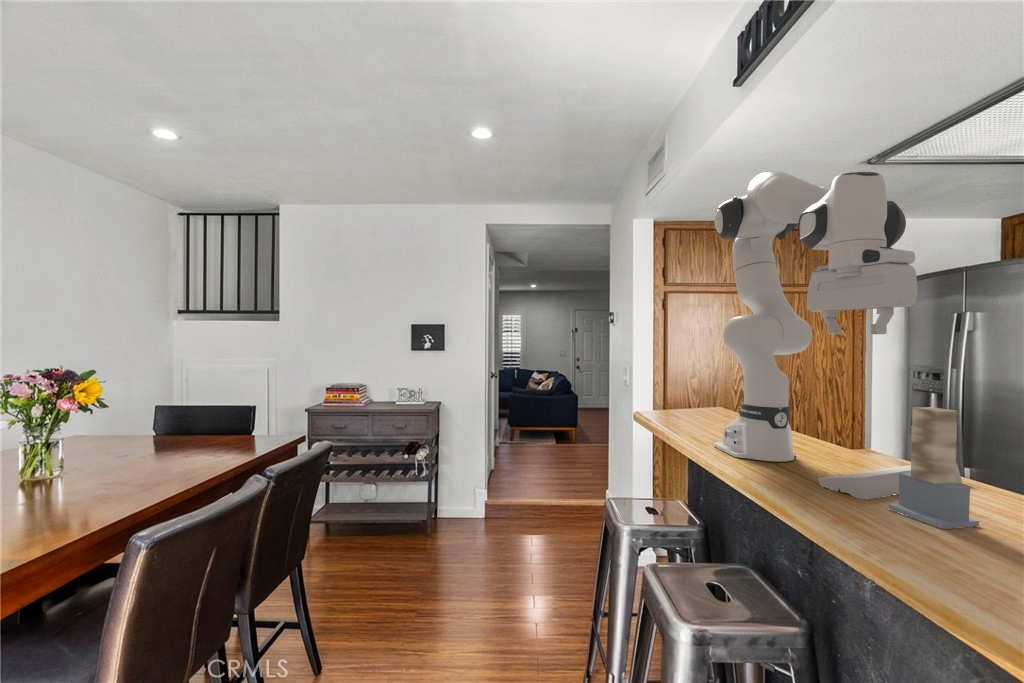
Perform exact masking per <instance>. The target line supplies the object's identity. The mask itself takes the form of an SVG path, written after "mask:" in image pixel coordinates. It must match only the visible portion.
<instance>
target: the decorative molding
mask: <svg viewBox="0 0 1024 683" xmlns="http://www.w3.org/2000/svg"><path fill="white" fill-rule="evenodd" d="M910 472H911V464H910V465H901V466H895V467H889V468H888V467H887V468H881V469H874V470H867V471H860V472H852V473H846V474H838V475H832V476H826V477H825V476H824V477H823V476H822V477H818V478H817V481H818V483H819V485H820V487H821V486H822V487H821V488H823V487H825V488H826V489H828V490H830V489H832V490H831V491H833V490H835V491H834V492H837V491H838V492H840V493H841V492H842V493H847V494H848V495H851V497H854V498H858V499H861V500H864V499H865V500H866V501H870V500H869V499H871V500H875V499H874V498H876V499H880V498H879V497H882V498H884V497H883V496H888V497H890V496H889V495H893V494H898V493H899V473H910ZM962 483H963V479H962V477H961V473H960V469H959V466H958V463H956V475H955V484H959V485H963V484H962ZM893 496H894V495H893Z"/></svg>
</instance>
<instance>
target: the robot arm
mask: <svg viewBox="0 0 1024 683" xmlns="http://www.w3.org/2000/svg"><path fill="white" fill-rule="evenodd" d="M713 223H714V227H715V228H714V229H715V231H716V234H718V236H719V237H720V238H721V239H725V240H734V242H733V243H732V267H733V268H732V269H733V274H734V280H735V285H736V291H737V297H738V300H740V302H741V303H742V304H744V305H745V306H746V307H748V308H749V309H750V310H751V313H753V314H743V315H739V316H734V317H732V318H730V319H729V320H728V321H726V324H725V326H724V327H723V332H722V337H723V342H724V344H725V346H726V348H727V349H728V350H729V351H730V352H732V353H733V355H735V357H736V359H737V361H738V362H739V366H740V369H741V370H742V374H743V403H742V404H739V405H737V410H739V416H738V417H737V418H735V419H734V420H733V421H731V422H730V423H729V424H727V425H726V426H725V427H724V429H723V433H722V441H716V442H714V444H713V446H714V447H715V448H717V449H718V450H721V451H722V452H723V453H724V452H725V453H726V454H728V455H730V456H731V457H734V458H741V459H748V460H749V459H751V460H755V461H756V460H757V461H764V462H781V463H782V462H790V461H794V460H795V456H796V451H794V446H793V436H792V433H793V432H792V427H791V425H790V423H789V421H790V420H791V413H792V411H791V407H790V406H789V404H790V403H789V398H790V396H789V395H790V393H789V392H790V379H789V376H787V374H786V373H785V372H783V371H782V370H781V369H780V368H779V366H778V364H777V362H776V357H775V356H789V355H792V354H797V353H798V354H799V353H801V352H804V351H805V350H806V349H808V347H809V346H810V345H811V343H812V339H813V330H812V327H811V325H810V324H809V323H808V322H807V321H806V320H804V319H803V318H802V317H801V316H799V315H798V314H797V313H796V312H795V310H794V309H793V307H792V305H791V304H790V303H789V301H788V299H787V297H786V295H785V294H784V290H783V287H782V285H781V279H780V276H779V272H778V266H777V261H776V257H775V254H774V251H773V242H774V240H775V237H776V239H778V240H780V241H782V240H784V239H785V237H786V236H787V235H788V234H790V233H792V232H793V231H794V230H795V229H796V228H797V234H798V238H799V240H800V241H801V243H802V244H803V245H804V247H806V248H808V250H809V249H810V250H814V251H828V264H826V265H823V264H822V265H819V266H817V267H816V268H815V269H814V270H813V272H811V274H810V280H809V283H808V289H807V295H806V308H807V310H808V311H809V312H815V313H817V312H818V313H822V315H821V316H822V319H823V320H824V323H825V324H826V326H827V328H826V329H827V330H826V333H827V335H831V336H832V335H840V334H842V331H841V329H842V326H841V325H839V324H838V322H837V320H836V318H837V317H838V312H839V311H856V310H857V311H859V310H875V309H876V315H878V316H877V319H876V321H875V323H873V324H871V325H870V328H871V330H870V333H871V334H872V335H887V331H888V324H889V322H890V321H891V319H892V318H893V316H894V314H895V313H894V312H895V311H894V310H895V308H906V307H907V308H908V307H912V306H913V305H914V304H915V302H916V301H917V298H918V278H917V272H916V269H915V267H914V266H913V265H912V264H914V263H915V261H916V254H915V252H914V251H911V250H905V249H899V248H893V246H894V245H895V244H896V243H897V242H899V240H900V239H901V238H902V236H903V235H904V233H905V231H906V226H907V219H906V216H905V214H904V212H903V210H902V208H901V207H900V206H899V205H898V204H897V203H896V202H895V201H893V200H888V197H887V188H886V183H885V180H884V177H883V175H882V174H880V173H878V172H876V171H875V172H874V171H857V172H855V171H853V172H846V173H842V174H839V175H837V176H835V177H834V179H833V180H832V182H831V186H830V188H829V190H828V189H826V188H823V187H820V186H818V185H815V184H813V183H810V182H808V181H805V180H803V179H800V178H798V177H796V176H794V175H791V174H788V173H785V172H782V171H764V172H762V173H760V174H759V173H758V175H756V176H755V177H754V178H752V180H751V181H750V182H749V185H748V187H747V193H746V195H745V196H742V197H738V196H736V195H735V196H733V197H732V198H731V199H729V200H726V201H724V202H722V203H721V204H720V205H719V206H718V207H717V208H716V211H715V215H714V222H713Z"/></svg>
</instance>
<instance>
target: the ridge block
mask: <svg viewBox="0 0 1024 683" xmlns="http://www.w3.org/2000/svg"><path fill="white" fill-rule="evenodd" d="M970 497H971V487H969V486H966V485H963V484H955V483H943V484H934V483H930V482H927V481H923V480H920V479H916V478H912V477H911V472H910V473H899V495H898V501H897V502H898V503H896V504H893V503H892V504H888V510H889V509H890V510H893V511H896V512H899V513H902V514H904V515H907V516H909V517H908V518H910V517H912V518H915V519H917V520H916V521H918V520H919V522H921V521H922V522H921V523H923V522H925V523H924V524H926V523H927V524H926V525H929V524H930V526H932V525H933V526H932V527H935V528H937V527H938V529H940V528H941V529H940V530H950V529H949V528H954V529H960V528H959V527H967V528H974V527H973V526H979V527H980V521H979V519H978V520H977V519H976V518H972V517H970V502H971V501H970V499H971V498H970ZM890 510H889V511H890ZM893 511H892V512H893ZM896 512H895V513H896ZM899 513H898V514H899ZM904 515H903V516H904ZM907 516H906V517H907ZM912 518H911V519H912ZM915 519H914V520H915Z"/></svg>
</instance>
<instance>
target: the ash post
mask: <svg viewBox="0 0 1024 683" xmlns="http://www.w3.org/2000/svg"><path fill="white" fill-rule="evenodd" d="M911 410H912V412H911V417H912V418H911V447H910V449H911V451H910V455H911V456H910V465H911V477H912V478H916V479H920V480H923V481H927V482H930V483H934V484H943V483H955V475H956V464H957V435H958V434H957V432H958V431H957V430H958V428H957V427H958V410H955V409H954V410H953V409H948V408H939V407H933V406H932V407H930V406H929V407H928V406H927V407H926V406H924V407H923V406H922V407H912V408H911Z"/></svg>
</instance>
